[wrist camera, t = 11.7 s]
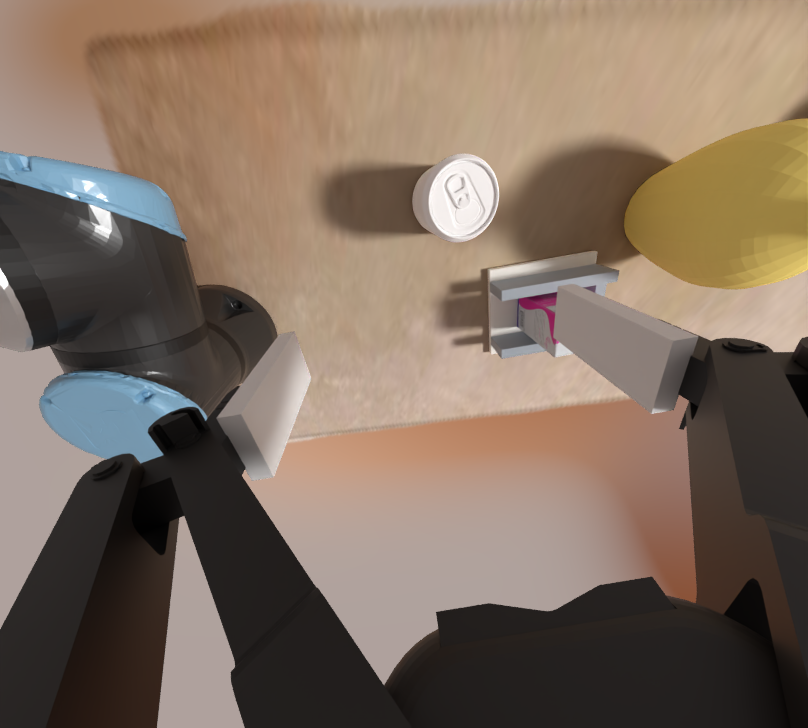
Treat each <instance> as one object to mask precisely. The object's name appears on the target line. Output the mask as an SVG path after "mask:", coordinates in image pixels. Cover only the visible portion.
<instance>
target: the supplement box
mask: <svg viewBox="0 0 808 728" xmlns="http://www.w3.org/2000/svg"><path fill="white" fill-rule="evenodd" d="M556 301H557V292H553V293H548V294H542V295H536V296H530V297H524V298H519V299H518V309H517V327H518V328H519V329H521V330H522V331H523V332H524V333H525V334H527V335H528V336H529V337H530V338H532V339H533V340H534V341H535V342H536V343H538V344H539V345H540V346H541V347H542V348H544V349H545V350H546V351H547V352H548V353H550V354H551V355H552V356H553V357H559V356H564V355H570V354H574V353H573V352H571V351H570V350H569V349H567V348H566V347H565V346H564V345H562V344H561V343H560V342H558V341H557V340H556V339H555V338H553V334H554V323H555V312H556Z"/></svg>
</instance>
